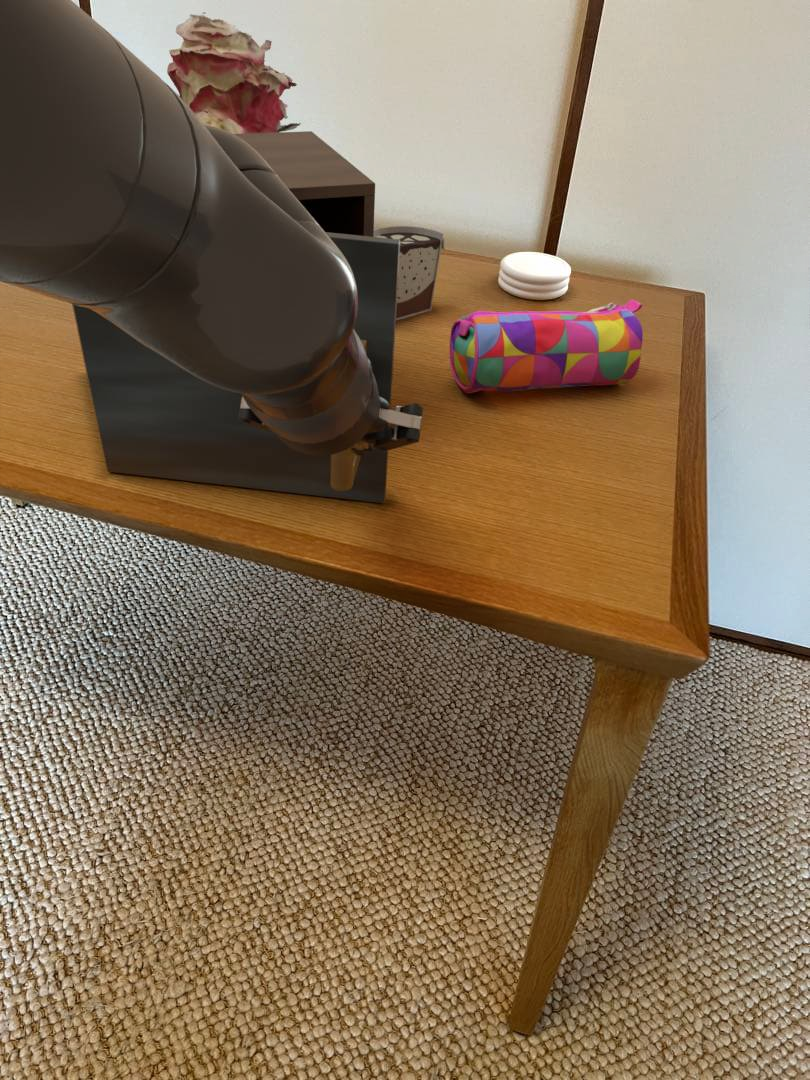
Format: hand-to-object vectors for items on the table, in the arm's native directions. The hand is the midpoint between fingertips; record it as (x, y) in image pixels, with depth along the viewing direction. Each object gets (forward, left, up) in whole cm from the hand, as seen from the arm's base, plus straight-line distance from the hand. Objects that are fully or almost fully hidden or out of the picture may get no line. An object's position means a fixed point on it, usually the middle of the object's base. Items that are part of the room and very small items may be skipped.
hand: (347, 441), depth 66 cm
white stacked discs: (+44, +44, -9) cm, 63 cm away
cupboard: (-5, +25, -9) cm, 27 cm away
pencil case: (+31, +18, -9) cm, 37 cm away
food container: (+21, +42, -9) cm, 48 cm away
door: (-8, +6, -9) cm, 13 cm away
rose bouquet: (+3, +65, -9) cm, 65 cm away
